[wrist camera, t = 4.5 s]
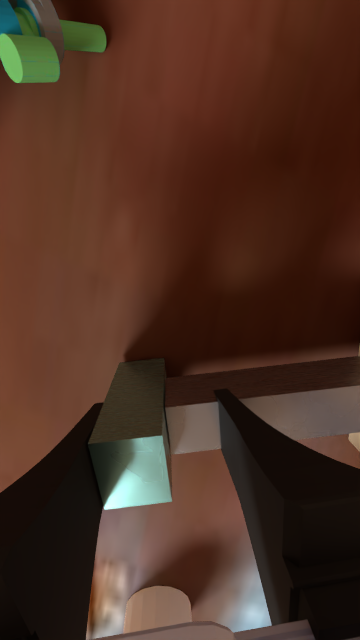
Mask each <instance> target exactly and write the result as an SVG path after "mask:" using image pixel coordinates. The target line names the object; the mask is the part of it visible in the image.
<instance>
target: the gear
mask: <svg viewBox="0 0 360 640" xmlns="http://www.w3.org/2000/svg"><path fill="white" fill-rule="evenodd" d="M105 48H106V35H105V32H104V30H103V28H102V27H101V26H99V25H94V24H87V23H80V22H73V21H66V20H59V18H58V16H57V13H56V11H55V9H54V6H53V4H52V2H51V0H0V58H1V61H2V63H3V66H4V68H5V70H6V72H7V73H8V75H9V76H10V78H11V79H12V80H13V81H14V82H16V83H36V82H56V81H57V80H58V78H59V75H60V66H59V65H60V64H61V62H62V60H63V57H64V50H73V51H89V52H103V51H104V50H105Z"/></svg>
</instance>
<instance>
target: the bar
mask: <svg viewBox="0 0 360 640" xmlns="http://www.w3.org/2000/svg"><path fill="white" fill-rule="evenodd" d="M225 388H227V389H228V390H229V391H230V392H231V393H232V394H233V395H234V396H236V397H237V398H238V399H239V400H240V401H241V402H242V403H243V404H244V405H245V406H246V407H248V408H249V409H250V410H251V411H252V412H253V413H255V414H256V415H257V416H258V417H260V418H261V419H262V420H264V421H265V422H266V423H268V424H269V425H270V426H272V427H273V428H275V429H277V430H278V431H280V432H281V433H283V434H284V435H286V436H288V437H289V438H291V439H293V440H298V439H307V438H315V437H324V436H332V435H341V434H349V433H358V432H360V356H355V357H346V358H337V359H328V360H320V361H311V362H302V363H293V364H284V365H276V366H267V367H258V368H249V369H240V370H231V371H223V372H214V373H205V374H196V375H187V376H179V377H170V378H167V375H166V367H165V360H164V358H158V359H149V360H140V361H131V362H122V363H119V365H118V368H117V370H116V373H115V375H114V378H113V381H112V383H111V386H110V388H109V391H108V393H107V396H106V399H105V401H104V404H103V406H102V409H101V411H100V414H99V417H98V419H97V422H96V424H95V427H94V429H93V432H92V435H91V437H90V440H89V442H88V447H89V451H90V455H91V459H92V463H93V467H94V470H95V474H96V478H97V482H98V486H99V490H100V494H101V498H102V502H103V506H104V509H105V510H106V509H114V508H123V507H131V506H139V505H148V504H156V503H164V502H172V475H171V454H180V453H188V452H197V451H205V450H214V449H221V439H220V424H219V410H218V401H217V399H216V396H215V394H214V391H213V390H219V389H225Z"/></svg>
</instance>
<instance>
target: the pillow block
mask: <svg viewBox="0 0 360 640" xmlns="http://www.w3.org/2000/svg"><path fill="white" fill-rule="evenodd" d="M358 356H360V345H359V353H358ZM349 441H350V442H351V443H352V444H353V445H354V446H355V447H356V448H357V449H358V450H359V452H360V432H358V433H349Z"/></svg>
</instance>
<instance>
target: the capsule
mask: <svg viewBox="0 0 360 640" xmlns="http://www.w3.org/2000/svg"><path fill="white" fill-rule="evenodd" d="M187 622H192V618H191V604H190V601H189V598H188V596H187V595H186V594H184V593H183V592H182V591H181V590H178V589H175V588H173V587H170V586H153V587H149V588H144V589H142V590H140V591H138V592H136V593H135V594H133V595H132V596H131V598H130V599H129V600H128V601H127V607H126V614H125V623H124V632H123V634H125V633H130V632H136V631H141V630H147V629H153V628H158V627H164V626H170V625H175V624H181V623H187Z"/></svg>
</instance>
